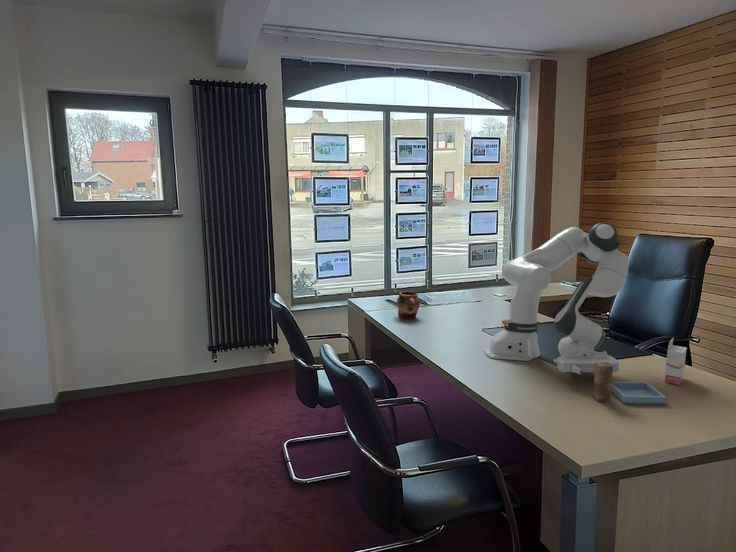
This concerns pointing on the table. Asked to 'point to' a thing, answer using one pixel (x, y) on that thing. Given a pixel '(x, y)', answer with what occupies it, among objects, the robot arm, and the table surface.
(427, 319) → the table surface
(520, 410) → the table surface
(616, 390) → the slate tray
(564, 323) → the robot arm
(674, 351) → the ink cartridge box
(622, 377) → the table surface
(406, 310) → the decorative planter
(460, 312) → the table surface
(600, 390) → the walnut block
